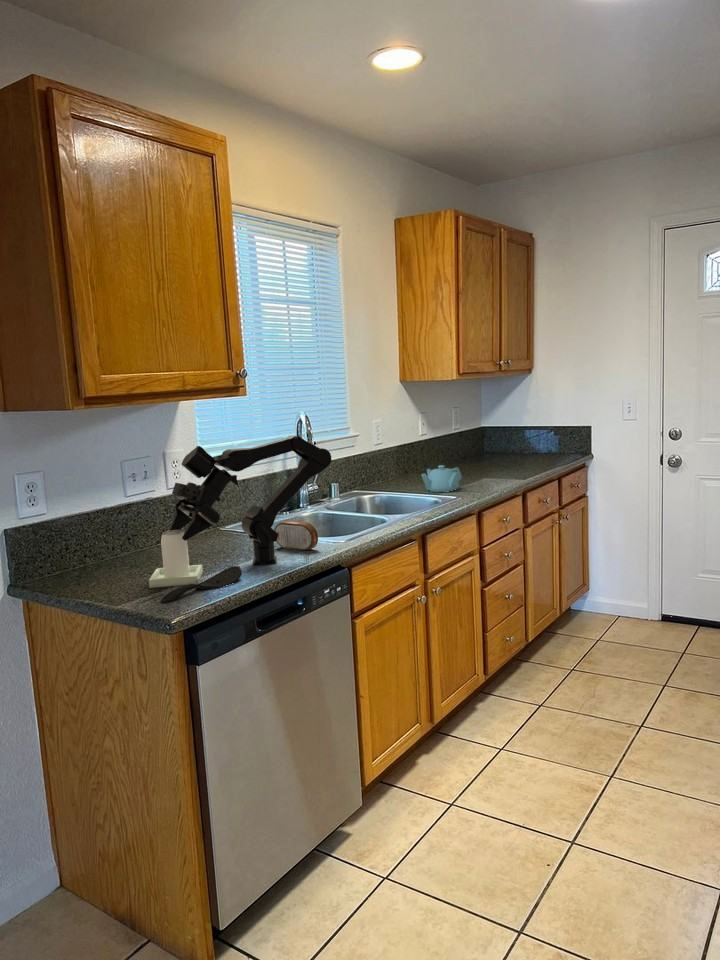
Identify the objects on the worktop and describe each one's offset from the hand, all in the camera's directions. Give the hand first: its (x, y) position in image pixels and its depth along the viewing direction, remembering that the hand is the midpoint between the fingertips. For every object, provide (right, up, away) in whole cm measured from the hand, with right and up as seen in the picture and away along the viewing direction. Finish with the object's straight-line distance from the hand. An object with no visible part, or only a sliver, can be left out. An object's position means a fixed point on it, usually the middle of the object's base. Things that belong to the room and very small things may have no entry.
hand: (176, 537), depth 192 cm
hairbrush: (+9, -13, -9) cm, 18 cm away
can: (0, -11, +1) cm, 11 cm away
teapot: (+82, +10, +121) cm, 147 cm away
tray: (0, -11, +1) cm, 11 cm away
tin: (+29, -6, +28) cm, 41 cm away
